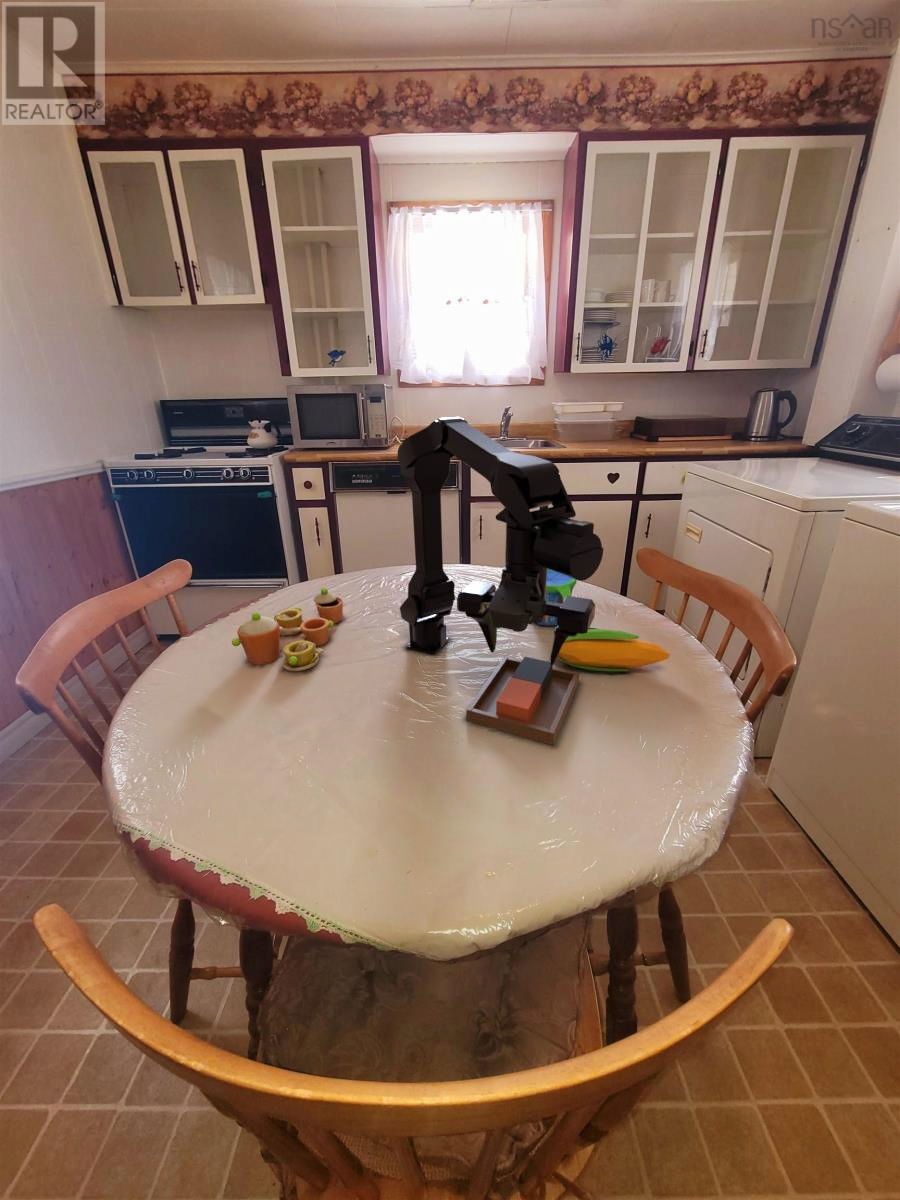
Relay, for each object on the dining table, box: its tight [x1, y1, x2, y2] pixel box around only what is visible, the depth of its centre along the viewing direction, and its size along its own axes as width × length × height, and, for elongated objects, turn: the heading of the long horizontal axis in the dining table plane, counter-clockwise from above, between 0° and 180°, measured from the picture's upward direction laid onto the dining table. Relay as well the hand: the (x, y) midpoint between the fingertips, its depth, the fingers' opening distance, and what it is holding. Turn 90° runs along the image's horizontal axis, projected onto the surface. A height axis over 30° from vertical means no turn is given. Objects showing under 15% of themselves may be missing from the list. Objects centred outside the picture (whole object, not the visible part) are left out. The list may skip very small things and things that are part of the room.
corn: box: [557, 627, 671, 672], centre depth 86 cm, size 7×8×20 cm
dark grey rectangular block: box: [512, 656, 554, 701], centre depth 81 cm, size 5×7×3 cm
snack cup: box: [536, 569, 578, 627], centre depth 103 cm, size 16×10×10 cm
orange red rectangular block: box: [496, 677, 541, 723], centre depth 75 cm, size 5×7×3 cm
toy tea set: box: [231, 587, 344, 672], centre depth 97 cm, size 26×16×10 cm, turn 173°
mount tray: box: [466, 656, 580, 746], centre depth 79 cm, size 14×17×2 cm
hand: (522, 657), depth 72 cm, fingers open, 9 cm apart
